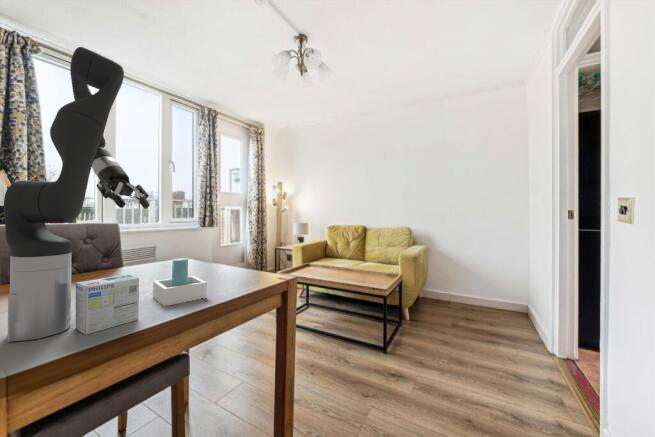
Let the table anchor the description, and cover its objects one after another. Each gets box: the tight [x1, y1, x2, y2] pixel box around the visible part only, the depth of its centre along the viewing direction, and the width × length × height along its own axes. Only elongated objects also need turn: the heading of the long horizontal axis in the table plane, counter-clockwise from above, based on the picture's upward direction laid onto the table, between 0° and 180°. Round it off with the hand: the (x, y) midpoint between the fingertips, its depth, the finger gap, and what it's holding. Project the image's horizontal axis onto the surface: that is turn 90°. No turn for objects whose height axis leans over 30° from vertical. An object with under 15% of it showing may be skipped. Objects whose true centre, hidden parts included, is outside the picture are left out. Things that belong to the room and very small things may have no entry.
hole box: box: [152, 275, 208, 307], centre depth 85 cm, size 12×12×5 cm
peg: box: [171, 258, 189, 287], centre depth 85 cm, size 4×4×12 cm
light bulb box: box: [75, 274, 140, 336], centre depth 64 cm, size 11×7×11 cm, turn 149°
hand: (135, 206), depth 89 cm, fingers open, 8 cm apart
